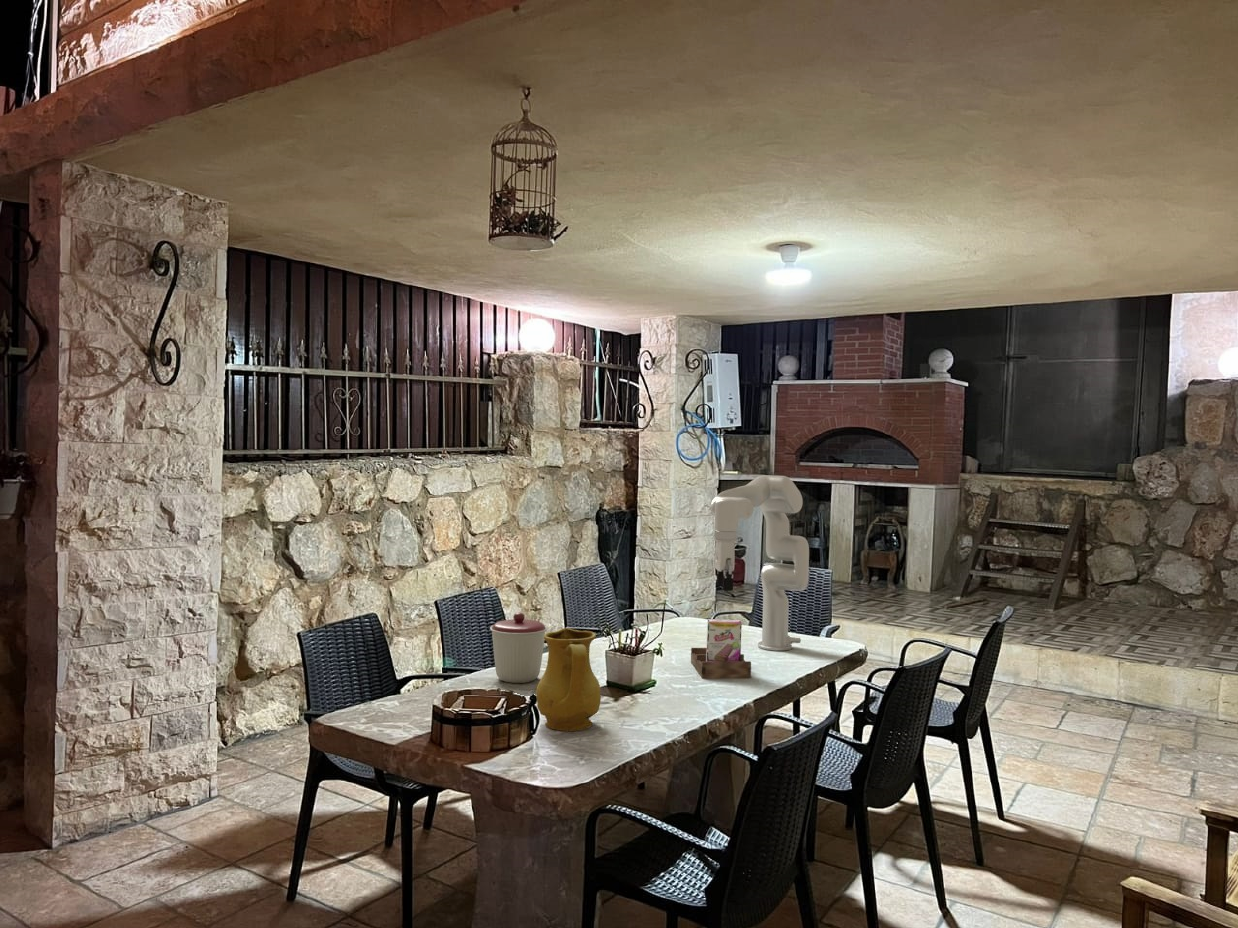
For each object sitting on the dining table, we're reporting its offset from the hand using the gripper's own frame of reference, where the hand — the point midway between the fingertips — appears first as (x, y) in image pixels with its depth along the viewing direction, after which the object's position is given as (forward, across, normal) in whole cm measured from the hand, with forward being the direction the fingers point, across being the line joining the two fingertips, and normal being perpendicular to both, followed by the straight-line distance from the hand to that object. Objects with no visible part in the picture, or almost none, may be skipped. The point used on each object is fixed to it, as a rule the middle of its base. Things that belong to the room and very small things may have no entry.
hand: (724, 588), depth 291 cm
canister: (+28, +6, -67) cm, 73 cm away
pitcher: (+28, +53, -53) cm, 80 cm away
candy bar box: (+27, 0, 0) cm, 27 cm away
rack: (+28, -4, 0) cm, 29 cm away
